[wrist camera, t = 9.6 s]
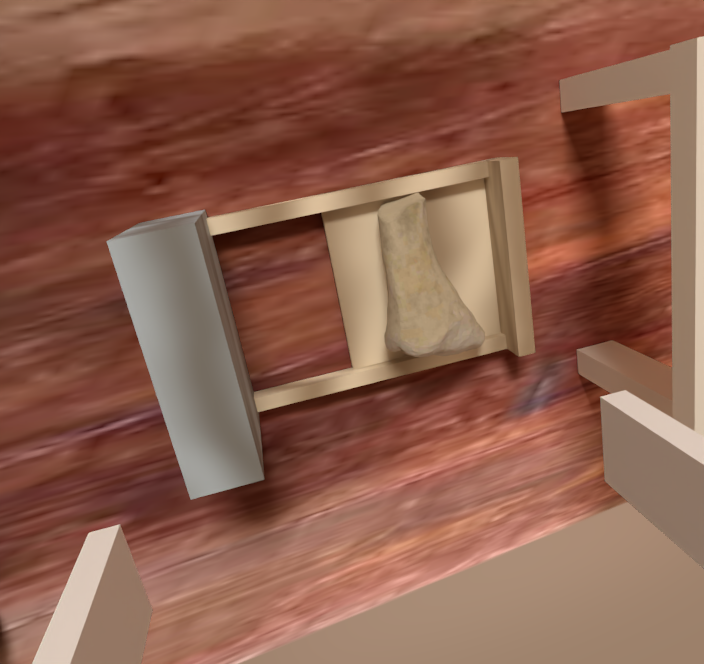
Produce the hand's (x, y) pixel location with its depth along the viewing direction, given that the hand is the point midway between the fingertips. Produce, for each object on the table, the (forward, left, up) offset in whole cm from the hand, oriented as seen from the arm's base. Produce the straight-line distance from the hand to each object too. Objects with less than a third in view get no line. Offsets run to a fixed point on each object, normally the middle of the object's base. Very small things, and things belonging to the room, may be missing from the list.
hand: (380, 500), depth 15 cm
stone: (+8, 0, -23) cm, 25 cm away
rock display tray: (+3, 0, -24) cm, 24 cm away
